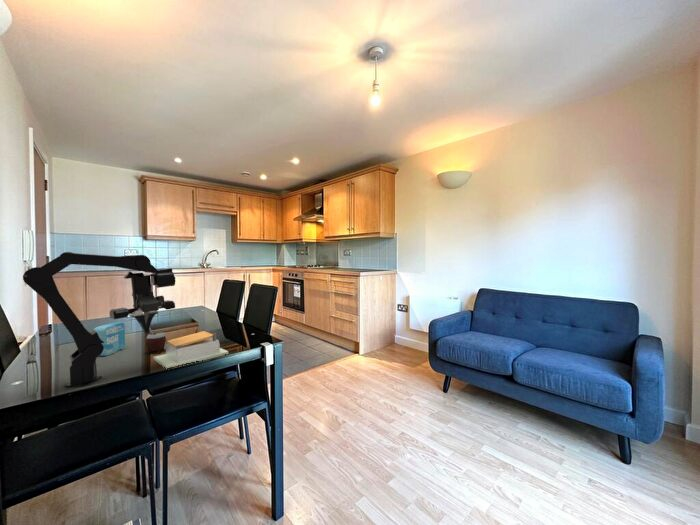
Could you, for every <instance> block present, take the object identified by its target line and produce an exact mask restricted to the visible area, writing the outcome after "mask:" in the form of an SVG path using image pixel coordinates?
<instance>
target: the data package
mask: <svg viewBox="0 0 700 525" xmlns="http://www.w3.org/2000/svg"><path fill="white" fill-rule="evenodd" d="M125 328H126V326H125V322H122V321H120V322H110V323H106V324H103V325H99V326H97V327H94V329H93V330H95V331H96V332H97V333H98V336H99V338H101V339H102V340H103V341H104V343H102V344H103V347H104V349H103V352H102V353H101V355H99V356H98V357H107V355H108V356H110V355H112V354H111V353H113V352H115V351H117V352H119V351H118V350H120V349H122V348H124V349H125V347H126V333H125V332H126V331H125V330H126V329H125ZM122 350H123V349H122ZM120 351H121V350H120ZM115 353H116V352H115ZM109 354H110V355H109ZM113 354H114V353H113Z"/></svg>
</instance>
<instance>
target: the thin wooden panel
mask: <svg viewBox="0 0 700 525" xmlns="http://www.w3.org/2000/svg"><path fill="white" fill-rule="evenodd" d="M209 338H213V334H212V333H210V332H208V331H205V330H204V331H202V332H200V331H199V332H195V333H192V334H187V335H185V336H180V337H177V338H173V339H172V338H171V340H170V339H168V340H169V341H167V343H168V344H170V345H172V346H173V347H175V348H176V346H178V345H182V346H185V345H188V344H192V343H195V342H199V341H202V340H206V339H209Z"/></svg>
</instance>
